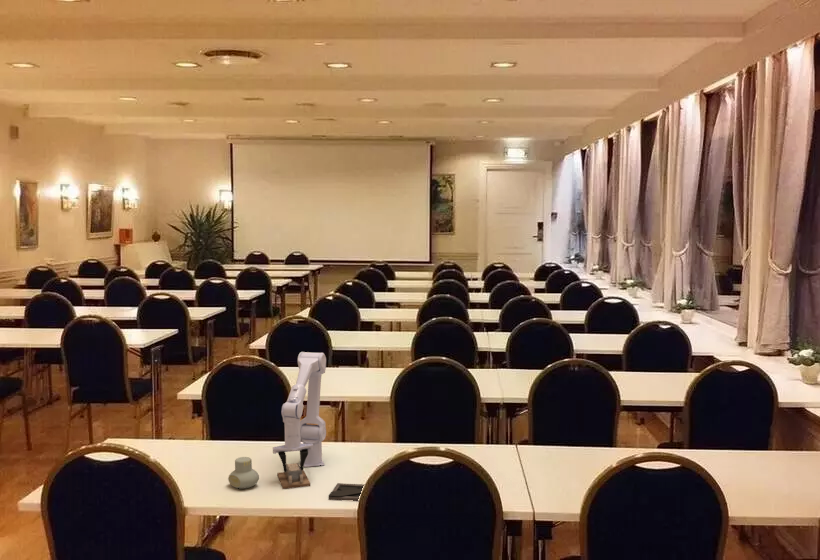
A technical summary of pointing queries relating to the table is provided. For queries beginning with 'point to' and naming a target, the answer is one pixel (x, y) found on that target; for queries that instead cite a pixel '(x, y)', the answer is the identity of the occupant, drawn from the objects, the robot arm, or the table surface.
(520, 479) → the table surface
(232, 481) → the air freshener
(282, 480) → the pegged wooden board
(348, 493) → the picture frame
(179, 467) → the table surface
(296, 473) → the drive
